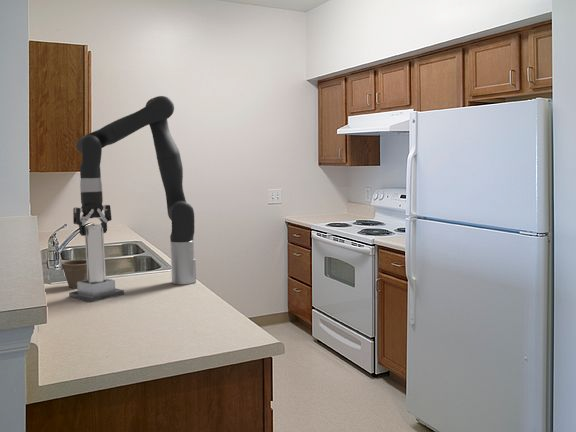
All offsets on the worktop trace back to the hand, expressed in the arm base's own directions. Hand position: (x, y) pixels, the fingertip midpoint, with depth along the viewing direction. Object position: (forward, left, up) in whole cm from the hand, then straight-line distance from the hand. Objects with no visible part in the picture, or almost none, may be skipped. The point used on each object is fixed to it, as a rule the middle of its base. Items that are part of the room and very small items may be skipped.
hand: (93, 234), depth 199 cm
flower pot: (+6, -19, -23) cm, 31 cm away
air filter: (0, 0, -22) cm, 22 cm away
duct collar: (0, 0, -23) cm, 23 cm away
